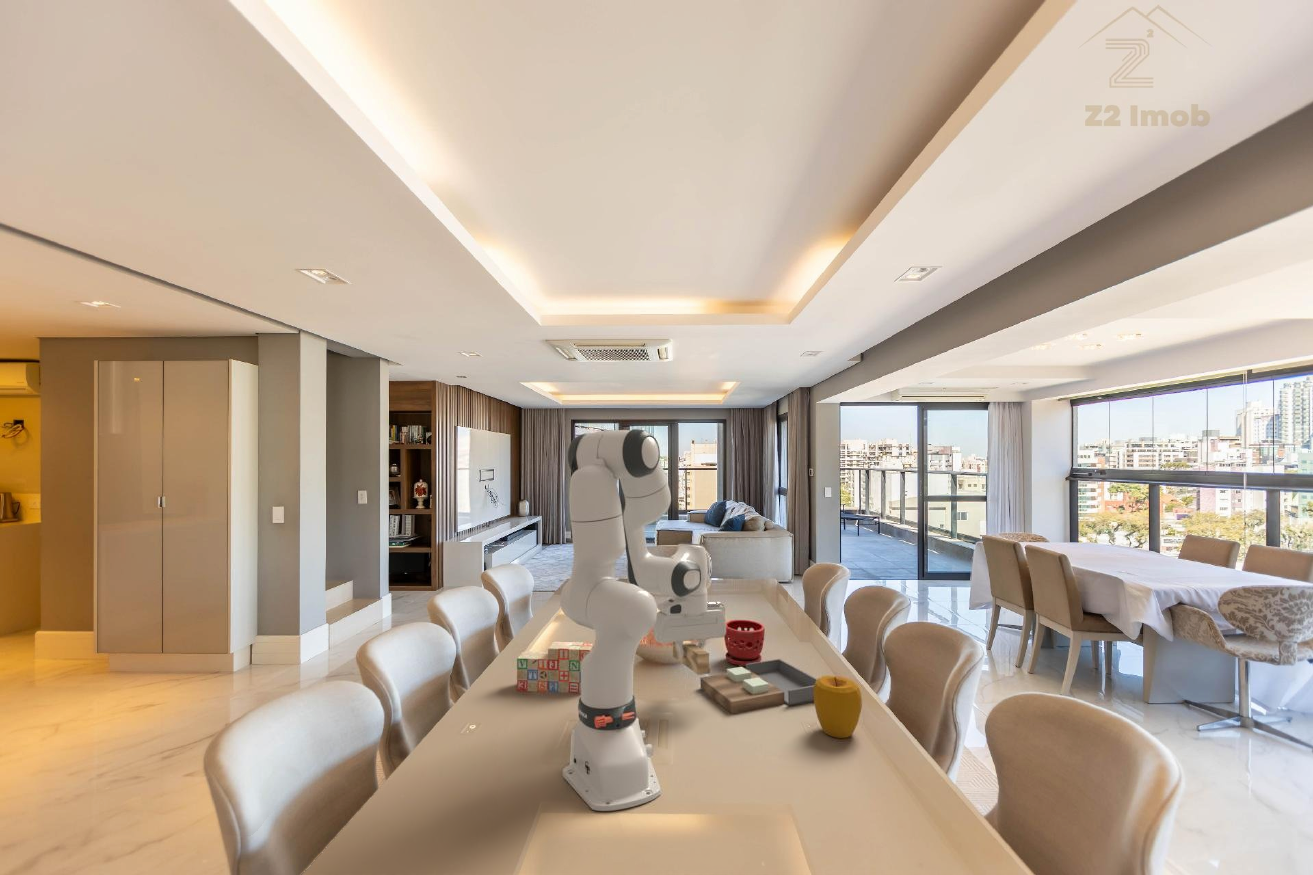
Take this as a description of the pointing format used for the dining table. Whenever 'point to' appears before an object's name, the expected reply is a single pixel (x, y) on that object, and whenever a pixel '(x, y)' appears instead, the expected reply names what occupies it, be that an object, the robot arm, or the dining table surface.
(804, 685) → the tray
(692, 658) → the wooden plank piece
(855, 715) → the apple
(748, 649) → the plant pot
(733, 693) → the board
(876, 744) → the dining table surface
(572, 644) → the stack of blocks
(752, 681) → the tile
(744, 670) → the tile
